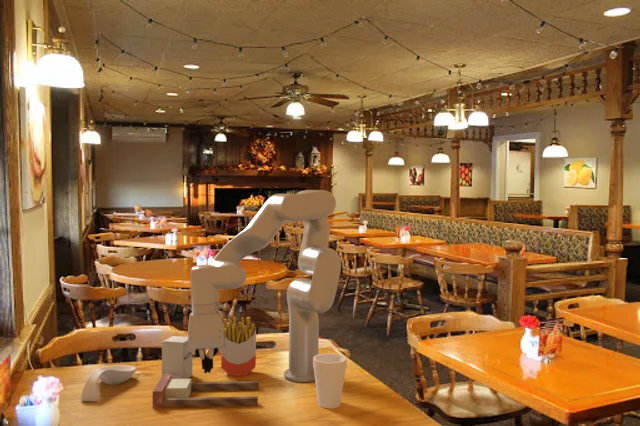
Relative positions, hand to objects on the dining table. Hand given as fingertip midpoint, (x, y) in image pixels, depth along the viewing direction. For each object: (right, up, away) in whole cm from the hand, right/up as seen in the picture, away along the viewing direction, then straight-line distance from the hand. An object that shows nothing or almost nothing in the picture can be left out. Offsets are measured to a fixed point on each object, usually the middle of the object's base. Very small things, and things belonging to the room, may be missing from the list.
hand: (207, 371), depth 158 cm
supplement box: (-13, -7, +16) cm, 22 cm away
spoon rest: (-32, -7, +7) cm, 33 cm away
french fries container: (+6, -7, +21) cm, 23 cm away
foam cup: (+35, -8, -4) cm, 36 cm away
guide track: (0, -7, 0) cm, 7 cm away
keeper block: (-9, -8, 0) cm, 11 cm away
